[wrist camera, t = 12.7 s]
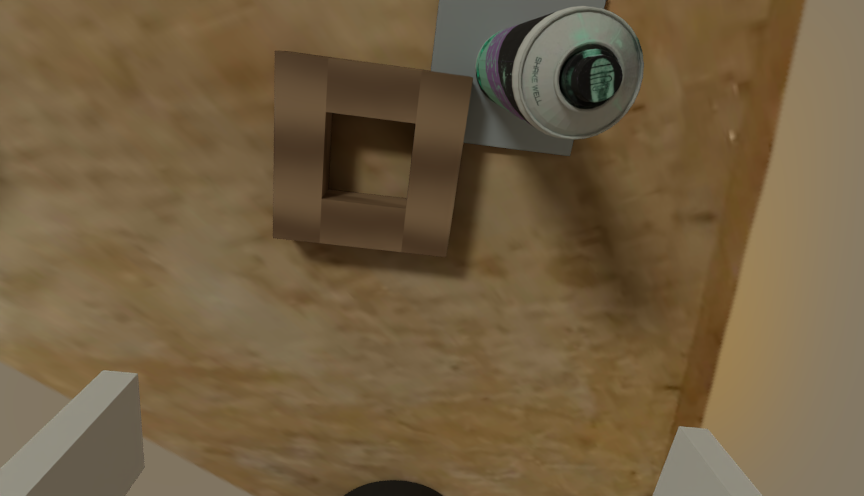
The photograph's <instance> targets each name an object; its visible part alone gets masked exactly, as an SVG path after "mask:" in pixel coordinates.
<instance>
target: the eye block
mask: <svg viewBox="0 0 864 496" xmlns="http://www.w3.org/2000/svg"><path fill="white" fill-rule="evenodd" d="M472 82H473V77H470V76H463V75H456V74H449V73H441V72H434V71H428V70H420V69H413V68H406V67H398V66H391V65H384V64H376V63H369V62H362V61H354V60H347V59H340V58H332V57H325V56H318V55H310V54H303V53H296V52H288V51H275V88H274V183H273V238H277V239H286V240H295V241H305V242H314V243H323V244H332V245H341V246H350V247H359V248H368V249H377V250H386V251H395V252H404V253H413V254H422V255H431V256H440V257H446V255H447V248H448V241H449V235H450V228H451V221H452V215H453V208H454V202H455V195H456V188H457V182H458V175H459V168H460V162H461V155H462V148H463V142H464V135H465V128H466V122H467V115H468V108H469V102H470V95H471V88H472ZM332 113H337V114H345V115H353V116H361V117H369V118H376V119H384V120H392V121H400V122H407V123H415V133H414V142H413V151H412V160H411V168H410V177H409V186H408V195H407V199H406V198H398V197H390V196H381V195H373V194H364V193H356V192H347V191H339V190H330V189H328V188H329V169H330V150H331V131H332Z"/></svg>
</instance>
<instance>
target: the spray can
mask: <svg viewBox="0 0 864 496" xmlns="http://www.w3.org/2000/svg"><path fill="white" fill-rule="evenodd" d="M643 68H644V62H643V53H642V49H641V46H640V43H639V40H638V38H637V36H636V35H635V33H634V31H633V29H632V28H631V27H630V26H629V25H628V24H627V23H626V22H625V21H624V20H623V19H622V18H620V17H619V16H617V15H616V14H614V13H612V12H610V11H607V10H604V9H602V8H596V7H588V6H577V7H569V8H566V9H563V10H560V11H557V12H554V13H551V14H548V15H545V16H542V17H539V18H536V19H533V20H530V21H527V22H524V23H522V24H519V25H516V26H513V27H510V28H507V29H504V30H501V31H499V32H497V33H495V34H493V35H492V36H491V37H490V38H489V39H487V40H486V42H485V43H484V44H483V45H482V47H481V49H480V51H479V52H478V55H477V58H476V64H475V76H476V80H477V83H478V85H479V87H480V89H481V91H482V92H483V93H484V95H485V96H486V97H487V98H489V99H490V100H491V101H493V102H494V103H496V104H498V105H499V106H501V107H503V108H504V109H506V110H507V111H509V112H511V113H512V114H514V115H515V116H517V117H519V118H520V119H522V120H523V121H525V122H527V123H528V124H530V125H531V126H533V127H535V128H536V129H538V130H540V131H541V132H543V133H545V134H547V135H550V136H553V137H556V138H563V139H585V138H589V137H592V136H596V135H598V134H600V133H602V132H604V131H606V130H608V129H609V128H611V127H612V126H613V125H615V124H616V123H617V122H619V121H620V119H621V118H622V117H623V116H624V115H625V114H626V113H627V112H628V110H629V109H630V107H631V106H632V104H633V103H634V101H635V99H636V97H637V95H638V92H639V90H640V86H641V82H642V79H643Z"/></svg>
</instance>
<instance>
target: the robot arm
mask: <svg viewBox="0 0 864 496" xmlns="http://www.w3.org/2000/svg"><path fill="white" fill-rule="evenodd" d="M143 469H144V453H143V441H142V425H141V411H140V397H139V383H138V374H137V373H126V372H116V371H106V370H103V371H102V372H101V373H100V374H99V375H98V376H97V377H96V378H95V379H93V380H92V381H91V382H90V383H89V384H88V385H87V386H86V387H85V388H84V389H83V390H82V391H81V392H80V393H79V394H78V395H77V396H76V397H75V398H74V399H73V400H71V401H70V402H69V404H67V405H66V406H65V407H64V408H63V409H62V410H61V411H60V412H59V413H58V414H57V415H56V416H55V417H54V418H53V419H52V420H51V421H49V422H48V424H46V425H45V426H44V427H43V428H42V429H41V430H40V431H39V432H38V433H37V434H36V435H35V436H34V437H33V438H32V439H31V440H30V441H29V442H27V443H26V444H25V445H24V446H23V447H22V448H21V449H20V450H19V451H18V452H17V453H16V454H15V455H14V456H13V457H12V458H11V459H10V460H9V461H8V462H7V463H5V464H4V465H3V466H2V467H1V468H0V496H125V495H126V494H127V492H128V491H129V489H130V488H131V486H132V485H133V483H134V482H135V481H136V479H137V478H138V476H139V475H140V473H141V472H142V470H143ZM344 496H442V495H440V494H439V493H437V492H436V491H434V490H432V489H430V488H428V487H426V486H423V485H420V484H417V483H412V482H407V481H396V480H389V481H379V482H374V483H369V484H366V485H363V486H361V487H358V488H356V489H354V490H352V491H350V492H349V493H347V494H346V495H344ZM653 496H762V494H761V493H760V492H759V491H758V490H757V488H756V487H755V486H754V485H753V483H752V482H751V481H750V480H749V478H748V477H747V476H746V475H745V474H744V473H743V471H742V470H741V469H740V468H739V466H738V465H737V464H736V463H735V461H734V460H733V459H732V458H731V457H730V455H729V454H728V453H727V452H726V451H725V450H724V448H723V447H722V446H721V444H720V443H719V442H718V441H717V440H716V438H715V437H714V436H713V435H712V433H711V432H710V431H709V430H708V429H702V428H691V427H681V426H679V428H678V431H677V433H676V436H675V438H674V441H673V444H672V446H671V449H670V452H669V454H668V457H667V459H666V462H665V465H664V467H663V470H662V473H661V475H660V478H659V480H658V483H657V486H656V488H655V491H654V493H653Z"/></svg>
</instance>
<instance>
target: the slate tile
mask: <svg viewBox="0 0 864 496" xmlns="http://www.w3.org/2000/svg"><path fill="white" fill-rule="evenodd" d="M605 2H606V0H439V6H438V14H437V23H436V31H435V39H434V48H433V56H432V65H431V71H434V72H441V73H449V74H456V75H463V76H470V77H473V82H472V88H471V95H470V102H469V108H468V115H467V122H466V128H465V135H464V142H463V143H470V144H478V145H486V146H494V147H502V148H509V149H517V150H525V151H533V152H541V153H549V154H557V155H565V156H570V153H571V149H572V145H573V140H574V139H563V138H556V137H553V136H550V135H547V134H545V133H543V132H541V131H540V130H538V129H536V128H535V127H533V126H531V125H530V124H528V123H527V122H525V121H523V120H522V119H520V118H519V117H517V116H515V115H514V114H512V113H511V112H509V111H507V110H506V109H504V108H503V107H501V106H499V105H498V104H496V103H494V102H493V101H491V100H490V99H489V98H487V97H486V96H485V95H484V93H483V92H482V91H481V89H480V87H479V85H478V83H477V80H476V76H475V64H476V58H477V55H478V52H479V51H480V49H481V47H482V45H483V44H484V43H485V42H486V40H487V39H489V38H490V37H491V36H492V35H493V34H495V33H497V32H499V31H501V30H504V29H507V28H510V27H513V26H516V25H519V24H522V23H524V22H527V21H530V20H533V19H536V18H539V17H542V16H545V15H548V14H551V13H554V12H557V11H560V10H563V9H566V8H569V7H577V6H588V7H596V8H602V9H604V6H605Z"/></svg>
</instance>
